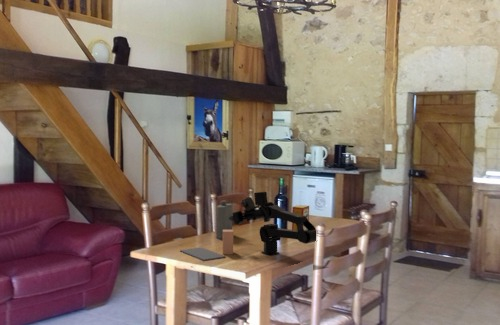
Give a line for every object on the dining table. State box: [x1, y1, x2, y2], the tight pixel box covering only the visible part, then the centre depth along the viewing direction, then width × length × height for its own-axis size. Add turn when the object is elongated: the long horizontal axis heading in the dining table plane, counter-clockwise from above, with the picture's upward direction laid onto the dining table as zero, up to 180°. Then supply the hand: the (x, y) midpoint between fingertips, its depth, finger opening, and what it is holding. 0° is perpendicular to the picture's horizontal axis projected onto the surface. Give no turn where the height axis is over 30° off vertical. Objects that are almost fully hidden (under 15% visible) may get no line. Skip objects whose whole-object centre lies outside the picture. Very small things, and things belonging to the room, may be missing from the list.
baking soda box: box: [291, 204, 310, 230], centre depth 312 cm, size 10×6×16 cm
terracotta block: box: [222, 229, 234, 255], centre depth 259 cm, size 5×5×11 cm
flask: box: [215, 200, 234, 240], centre depth 298 cm, size 15×6×20 cm, turn 160°
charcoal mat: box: [179, 246, 226, 262], centre depth 256 cm, size 22×12×1 cm, turn 36°
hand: (235, 216), depth 275 cm, fingers open, 9 cm apart
